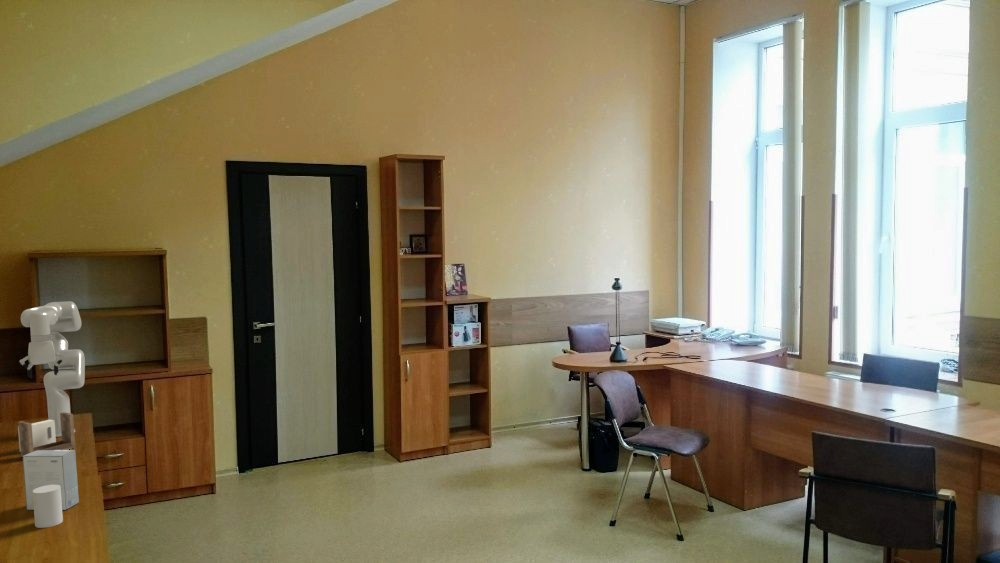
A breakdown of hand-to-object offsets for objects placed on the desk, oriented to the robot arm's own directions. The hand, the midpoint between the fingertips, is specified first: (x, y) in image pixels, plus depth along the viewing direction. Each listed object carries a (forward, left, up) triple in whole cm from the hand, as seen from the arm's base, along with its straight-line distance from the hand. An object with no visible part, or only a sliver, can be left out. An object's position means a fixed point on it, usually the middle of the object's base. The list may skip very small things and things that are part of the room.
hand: (43, 376), depth 337 cm
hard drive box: (+74, -36, -35) cm, 90 cm away
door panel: (-9, 0, -35) cm, 36 cm away
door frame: (+2, -1, -35) cm, 35 cm away
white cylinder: (+89, -45, -35) cm, 106 cm away
